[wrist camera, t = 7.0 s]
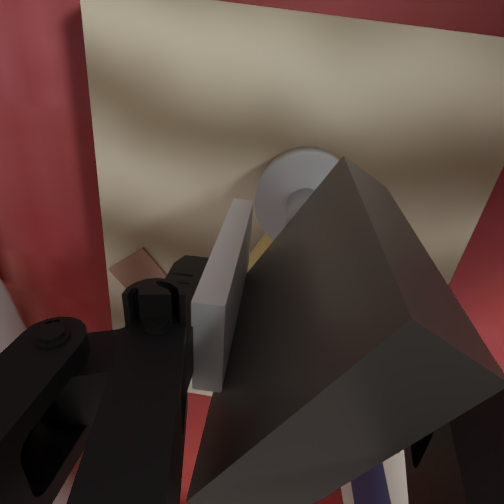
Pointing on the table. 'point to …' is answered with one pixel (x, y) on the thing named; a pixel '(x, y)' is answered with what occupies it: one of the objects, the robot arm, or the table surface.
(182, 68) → the dial board
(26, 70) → the table surface
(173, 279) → the robot arm
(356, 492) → the water bottle
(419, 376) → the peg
